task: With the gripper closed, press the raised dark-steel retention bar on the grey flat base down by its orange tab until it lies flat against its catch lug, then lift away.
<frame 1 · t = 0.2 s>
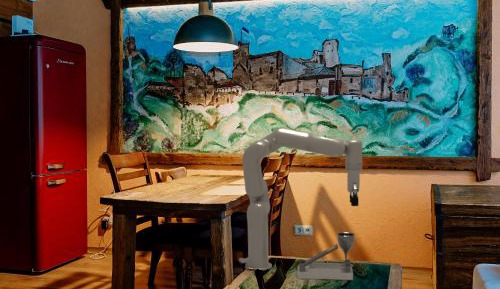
hand: (354, 204, 251), 31 cm above the table, tool pointing down, fingers open, 9 cm apart
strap: (319, 255, 244), point 9 cm above the table, hinge at 30.0°
wine glass: (345, 265, 261), on the table
grey flat base: (324, 275, 244), on the table
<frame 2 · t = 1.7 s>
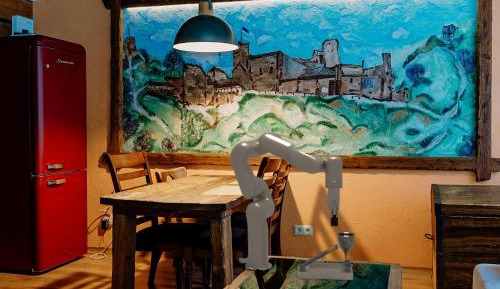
hand: (334, 225, 242), 23 cm above the table, tool pointing down, fingers closed
nothing on the table moved.
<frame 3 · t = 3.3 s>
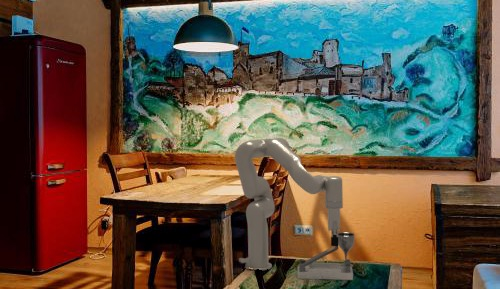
hand: (334, 245, 243), 14 cm above the table, tool pointing down, fingers closed
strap: (320, 256, 244), point 9 cm above the table, hinge at 29.1°, touching gripper
everything else where it was.
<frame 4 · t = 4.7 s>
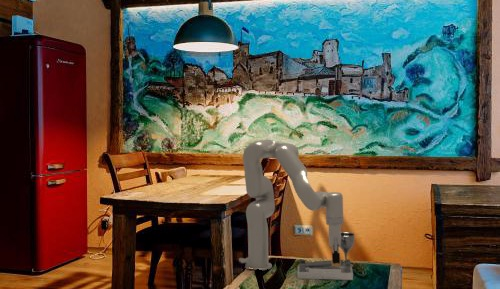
hand: (336, 261, 243), 7 cm above the table, tool pointing down, fingers closed
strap: (322, 263, 244), point 5 cm above the table, hinge at 5.5°, touching gripper
everything else where it was.
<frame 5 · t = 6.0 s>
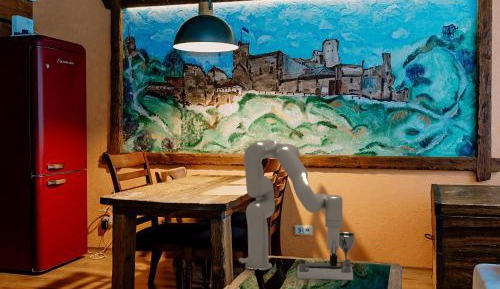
hand: (333, 264, 243), 5 cm above the table, tool pointing down, fingers closed
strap: (322, 265, 244), point 5 cm above the table, hinge at 0.5°
everything else where it was.
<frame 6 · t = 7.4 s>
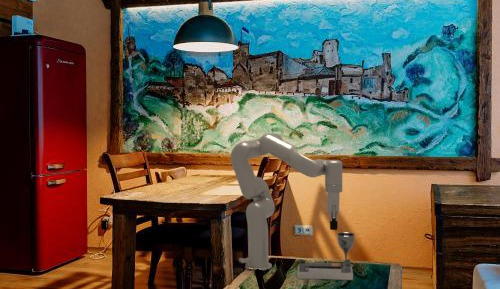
hand: (333, 229, 243), 21 cm above the table, tool pointing down, fingers closed
nothing on the table moved.
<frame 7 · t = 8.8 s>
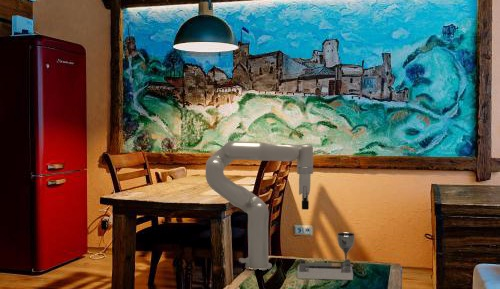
hand: (305, 209, 260), 27 cm above the table, tool pointing down, fingers closed
nothing on the table moved.
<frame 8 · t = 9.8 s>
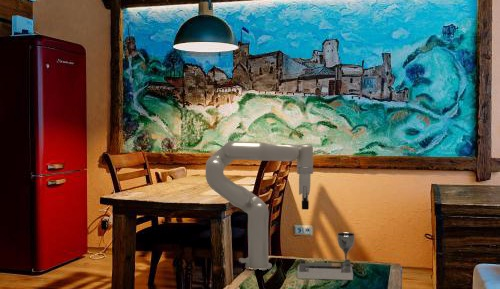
hand: (305, 209, 260), 27 cm above the table, tool pointing down, fingers closed
nothing on the table moved.
at the end: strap at +0° (first picture: +30°); wine glass moved 0.2 cm from its start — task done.
